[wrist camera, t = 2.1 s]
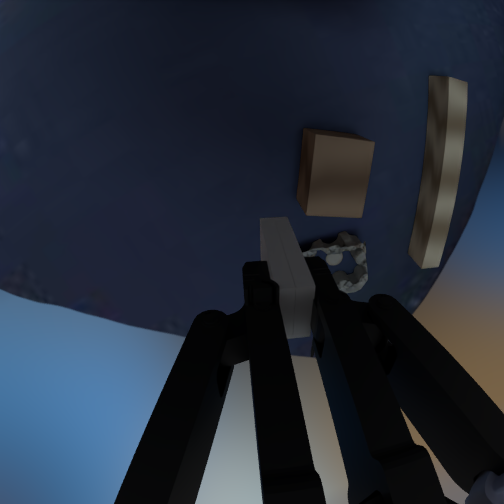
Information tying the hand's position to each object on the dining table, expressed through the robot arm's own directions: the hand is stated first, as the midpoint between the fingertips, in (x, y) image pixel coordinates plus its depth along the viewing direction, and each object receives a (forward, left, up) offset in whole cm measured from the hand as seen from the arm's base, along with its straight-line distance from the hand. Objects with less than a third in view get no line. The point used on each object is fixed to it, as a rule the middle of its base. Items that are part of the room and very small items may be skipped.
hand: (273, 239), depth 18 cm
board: (0, +23, -16) cm, 28 cm away
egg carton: (+12, +8, -17) cm, 22 cm away
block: (0, +8, -17) cm, 18 cm away
